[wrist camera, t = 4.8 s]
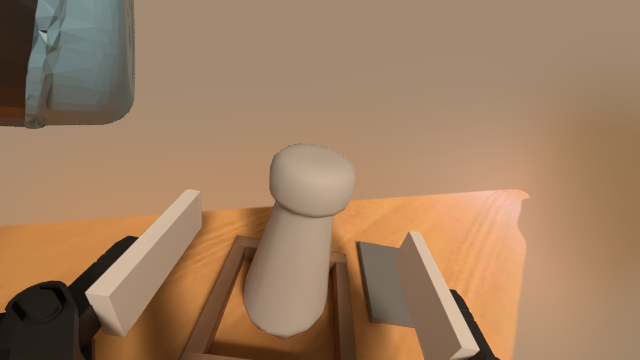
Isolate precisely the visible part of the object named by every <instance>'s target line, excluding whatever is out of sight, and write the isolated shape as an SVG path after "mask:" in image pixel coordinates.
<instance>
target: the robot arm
mask: <svg viewBox="0 0 640 360" xmlns="http://www.w3.org/2000/svg"><path fill="white" fill-rule="evenodd" d="M134 34H135V29H134V0H0V126H15V127H26V128H30V129H37V128H42V127H44V126H45V125H102V124H109V123H112V122H114V121H117V120H119V119H121V118H123V117H124V116H125V115H126V114H127V113H128V112H129V111H130V109H131V107H132V105H133V101H134V88H135V35H134ZM201 227H202V210H201V192H200V191H196V190H191V189H187V190H186V191H185V192H184V193H183V194H182V195H181V196H180V197H179V198H178V199H177V200H176V201H175V202H174V203H173V204H172V205H171V206H170V207H169V208H168V209H167V210H166V211H165V212H164V213H163V214H162V215H161V216H160V217H159V218H158V219H157V220H156V221H155V222H154V223H153V224H152V225H151V226H150V227H149V228H148V229H147V230H146V231H145V232H144V233H143V234H142V235H141V236H140V237H134V236H127V237H125V238H124V239H122V240H120V241H118V242H116V243H115V244H114V245H113V246H112V247H111V248H109V249H108V250H107V251H106V252H105V254H103V255H102V256H101V257H100V258H99V259H98V260H97V262H94V263H93V264H92V265H91V266H90V267H89V268H88V269H87V270H86V271H85V272H84V273H82V274H81V275H80V276H79V277H78V278H77V279H76V280H75V281H74V282H73V283H72V284H71V285H69V286H68V287H67V285H66V284H65V283H63V282H61V281H47V282H42V283H39V284H36V285H33V286H31V287H28V288H27V289H25V290H23V291H22V292H20V293H18V294H17V295H16V296H15V297H14V298H13V299H11V300H10V301H9V302H8V304H7V306H6V308H5V311H6V312H4V313H0V360H95V340H94V337H93V336H94V335H95V334H96V333H97V331H98V330H99V329H100V328H101V327H102V330H103V332H104V334H105V335H113V336H121V337H125V336H126V335H127V333H128V332H129V331H130V329H131V328H132V326H133V325H134V323H135V322H136V321H137V319H138V318H139V316H140V315H141V313H142V312H143V310H144V309H145V308H146V306H147V305H148V303H149V302H150V300H151V299H152V298H153V296H154V295H155V293H156V292H157V290H158V289H159V287H160V286H161V285H162V283H163V282H164V280H165V279H166V277H167V276H168V275H169V273H170V272H171V270H172V269H173V267H174V266H175V265H176V263H177V262H178V260H179V259H180V257H181V256H182V254H183V253H184V252H185V250H186V249H187V247H188V246H189V244H190V243H191V242H192V240H193V239H194V237H195V236H196V234H197V233H198V231H199V230H200V229H201ZM393 261H394V264H395V267H396V270H397V273H398V277H399V280H400V283H401V286H402V289H403V292H404V295H405V299H406V302H407V305H408V308H409V311H410V314H411V318H412V321H413V324H414V327H415V330H416V333H417V337H418V340H419V343H420V346H421V349H422V352H423V356H424V359H425V360H500V359H498V358H497V357H495V356H494V354H493V353H492V351H491V349H490V347H489V345H488V343H487V342H486V340H485V338H484V336H483V334H482V332H481V331H480V329H479V327H478V325H477V323H476V321H474V318H473V316H472V314H471V312H469V309H468V307H467V305H466V303H465V301H464V300H463V298H462V297H461V296H460V295H459V294H458V293H457V292H456V290H452V289H449V288H448V286H447V284H446V283H445V281H444V279H443V277H442V275H441V273H440V271H439V269H438V267H437V265H436V263H435V261H434V259H433V257H432V255H431V253H430V251H429V249H428V247H427V245H426V243H425V241H424V239H423V237H422V235H421V233H418V232H413V231H409V232H408V234H407V236H406V237H405V239H404V241H403V243H402V245H401V246H400V248H399V250H398V252H397V254H396V256H395V257H394V259H393Z"/></svg>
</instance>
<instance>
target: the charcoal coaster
mask: <svg viewBox="0 0 640 360" xmlns="http://www.w3.org/2000/svg"><path fill="white" fill-rule="evenodd" d="M358 250H359V256H360V262H361V268H362V274H363V280H364V286H365V292H366V298H367V304H368V310H369V316H370V322H377V323H384V324H391V325H398V326H405V327H411V328H415V327H414V324H413V321H412V318H411V314H410V311H409V308H408V305H407V302H406V299H405V295H404V292H403V289H402V286H401V283H400V280H399V277H398V273H397V270H396V267H395V264H394V261H393V259H394V257H395V256H396V254H397V252H398V250H399V248H393V247H388V246H382V245H376V244H371V243H365V242H360V241H359V244H358Z"/></svg>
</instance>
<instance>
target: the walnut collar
mask: <svg viewBox="0 0 640 360" xmlns="http://www.w3.org/2000/svg"><path fill="white" fill-rule="evenodd" d="M260 241H261V240H259V239H253V238H247V237H241V236H237V239H236V241H235V243H234V245H233V247H232V249H231V251H230V254H229V256H228V258H227V260H226V262H225V264H224V267H223V269H222V271H221V273H220V275H219V277H218V280H217V282H216V284H215V286H214V288H213V290H212V292H211V295H210V297H209V299H208V301H207V303H206V305H205V308H204V310H203V312H202V314H201V316H200V318H199V321H198V323H197V325H196V327H195V329H194V331H193V333H192V336H191V338H190V340H189V342H188V344H187V346H186V349H185V351H184V353H183V355H182V357H181V359H180V360H250V359H242V358H234V357H225V356H217V355H209V354H208V353H209V350H210V348H211V345H212V342H213V340H214V337H215V335H216V332H217V329H218V327H219V324H220V321H221V319H222V316H223V314H224V311H225V308H226V306H227V303H228V300H229V298H230V295H231V293H232V290H233V287H234V285H235V282H236V280H237V277H238V274H239V272H240V269H241V266H242V264H243V261H244V259H245V258H248V259H254V256H255V254H256V251H257V248H258V246H259V243H260ZM329 272H332V291H333V323H334V355H335V360H357V359H356V349H355V339H354V329H353V319H352V309H351V299H350V290H349V280H348V270H347V260H346V254H340V253H334V252H330V262H329Z"/></svg>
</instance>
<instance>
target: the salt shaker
mask: <svg viewBox="0 0 640 360" xmlns="http://www.w3.org/2000/svg"><path fill="white" fill-rule="evenodd" d="M355 180H356V172H355V170H354V169H353V167H352V165H351V164H350V162H349V160H348V159H347V158H346V157H344V156H343V155H341V154H340V153H338V152H336V151H334V150H331V149H328V148H326V147H322V146H317V145H313V144H295V145H290V146H287V147H286V148H284V149H282V150H281V151H280V152H279V153H277V154H276V155H274V157H273V160H272V163H271V166H270V192H271V195H272V196H273V197H274V199H275V200H276V201H275V204H274V207H273V209H272V212H271V214H270V217H269V220H268V222H267V225H266V228H265V230H264V233H263V235H262V238H261V241H260V243H259V246H258V248H257V251H256V254H255V256H254V259H253V261H252V264H251V267H250V269H249V272H248V274H247V277H246V280H245V285H244V296H243V301H244V305H245V308H246V310H247V313H248V315H249V317H250V320H251V322H252V323H253V324H254V325H255V326H256V327H257V328H258V329H259V330H262V331H264V332H265V333H267V334H271V335H273V336H276V337H278V338H280V339H283V340H284V339H285V338H287V337H290V336H293V335H296V334H299V333H302V332H305V331H307V330H308V329H309V328H310V327H311V326H312V325H313V324H314V323H315V322H316V321H317V319H318V318H319V317H320V316H321V315H322V313H323V310H324V306H325V302H326V298H327V289H328V276H329V262H330V249H331V236H332V224H333V216H334V215H336V214H337V213H339V212H341V211H343V210H344V209H345V208H346V207H347V206H348V204H349V202H350V199H351V197H352V194H353V190H354V186H355Z"/></svg>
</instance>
